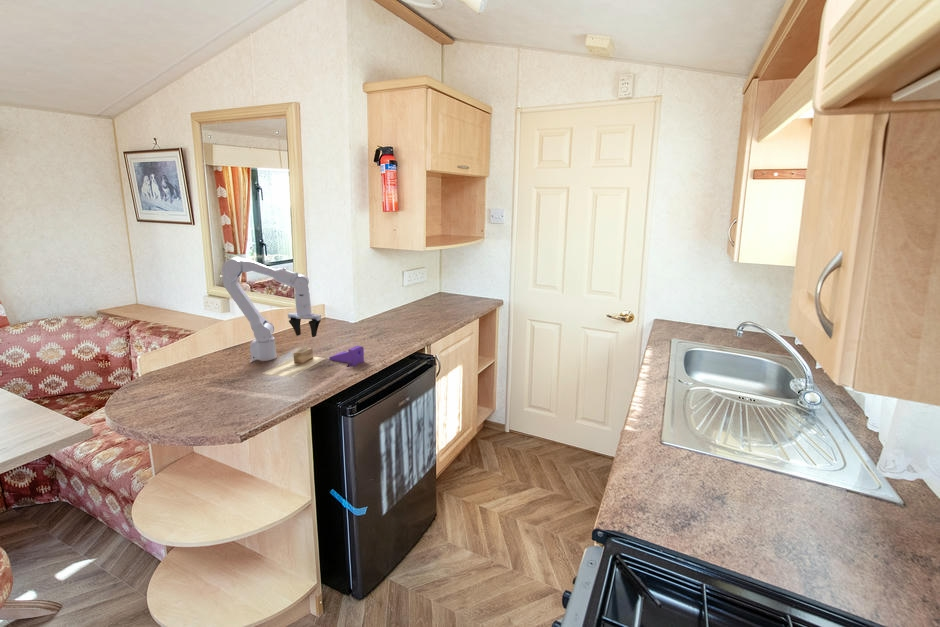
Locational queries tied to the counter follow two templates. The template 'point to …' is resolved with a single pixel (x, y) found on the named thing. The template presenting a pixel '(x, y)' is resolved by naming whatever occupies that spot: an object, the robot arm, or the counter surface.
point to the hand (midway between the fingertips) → (306, 335)
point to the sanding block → (303, 355)
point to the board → (292, 367)
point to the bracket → (350, 356)
